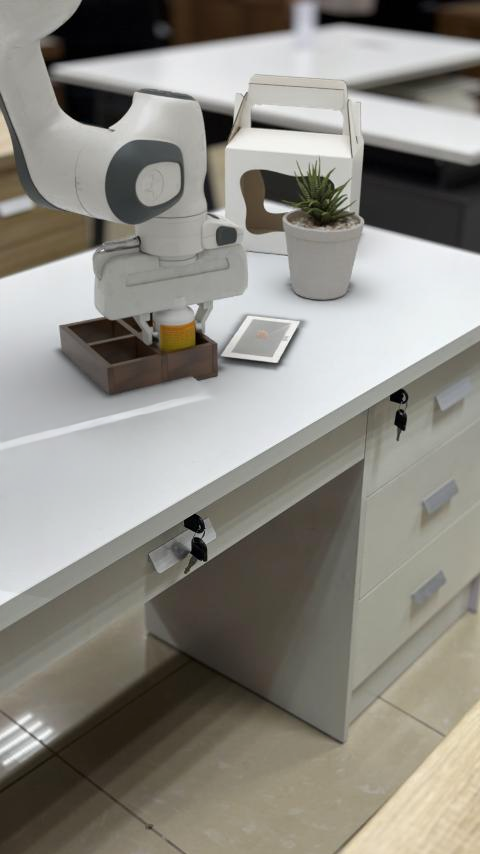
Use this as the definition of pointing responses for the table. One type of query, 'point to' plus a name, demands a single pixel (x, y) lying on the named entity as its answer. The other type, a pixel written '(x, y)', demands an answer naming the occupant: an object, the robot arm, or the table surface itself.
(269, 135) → the gable box
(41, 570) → the table surface
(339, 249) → the potted plant
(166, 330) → the supplement bottle
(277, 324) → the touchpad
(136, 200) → the robot arm
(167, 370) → the grid
